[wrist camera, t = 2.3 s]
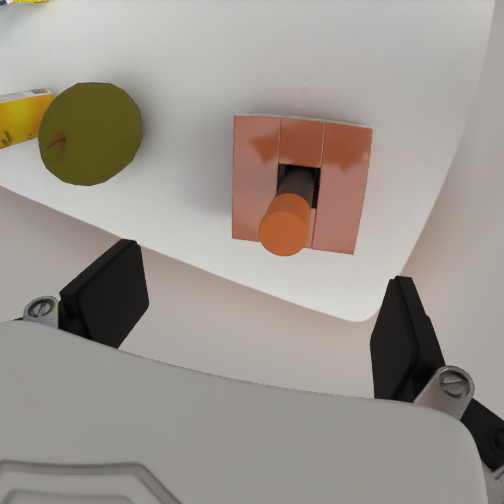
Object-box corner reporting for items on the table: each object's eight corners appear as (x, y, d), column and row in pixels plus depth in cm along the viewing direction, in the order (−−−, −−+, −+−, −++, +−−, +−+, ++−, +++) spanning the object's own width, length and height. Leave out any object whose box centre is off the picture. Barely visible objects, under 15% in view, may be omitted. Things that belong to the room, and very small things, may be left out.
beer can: (31, 130, 31) (-60, 162, 18) (37, 86, 28) (-60, 106, 15) (59, 137, 31) (-40, 174, 18) (65, 90, 28) (-40, 110, 15)
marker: (317, 160, 27) (310, 213, 15) (314, 186, 28) (305, 260, 16) (289, 157, 27) (259, 207, 15) (287, 183, 28) (256, 253, 16)
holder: (364, 124, 24) (373, 129, 20) (349, 230, 29) (353, 254, 25) (249, 112, 26) (234, 115, 22) (245, 217, 31) (231, 238, 27)
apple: (177, 132, 28) (110, 154, 19) (119, 186, 32) (51, 225, 23) (125, 62, 26) (48, 60, 16) (74, 122, 30) (2, 142, 20)
